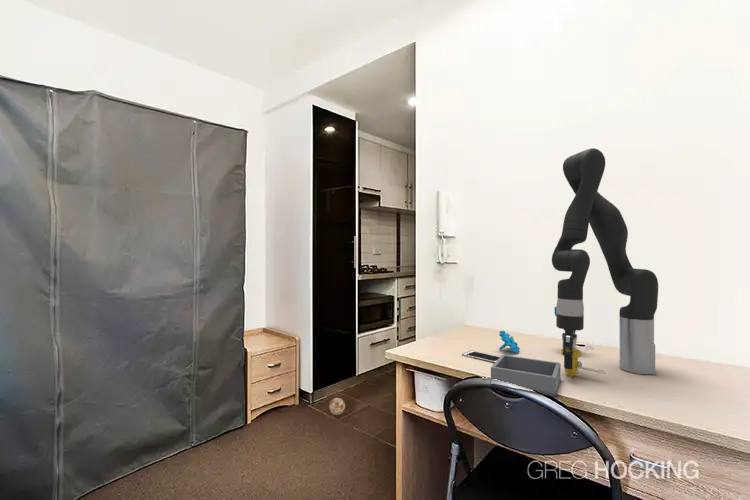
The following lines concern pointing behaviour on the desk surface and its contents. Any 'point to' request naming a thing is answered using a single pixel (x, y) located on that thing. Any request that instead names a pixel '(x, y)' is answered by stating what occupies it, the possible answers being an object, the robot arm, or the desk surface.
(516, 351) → the blue blocky piece
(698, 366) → the desk surface
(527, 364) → the bin
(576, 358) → the pressure relief valve
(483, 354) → the cell phone
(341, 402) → the trinket box
